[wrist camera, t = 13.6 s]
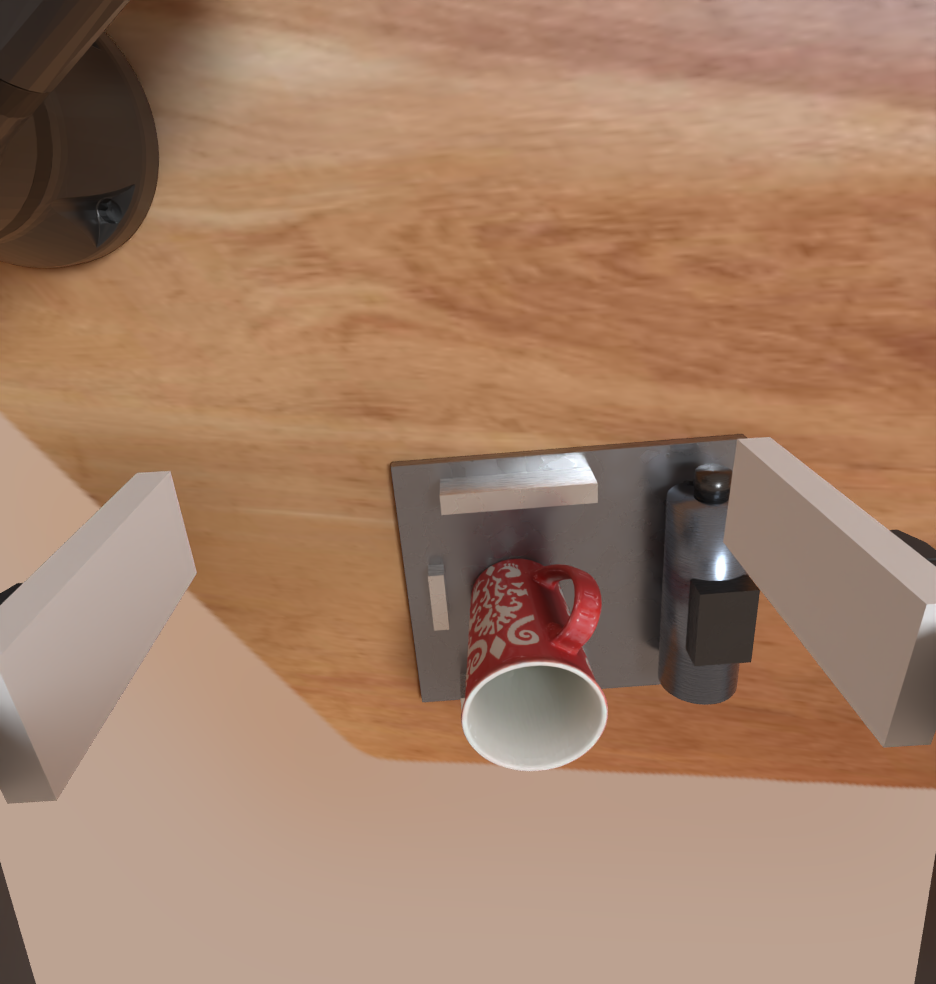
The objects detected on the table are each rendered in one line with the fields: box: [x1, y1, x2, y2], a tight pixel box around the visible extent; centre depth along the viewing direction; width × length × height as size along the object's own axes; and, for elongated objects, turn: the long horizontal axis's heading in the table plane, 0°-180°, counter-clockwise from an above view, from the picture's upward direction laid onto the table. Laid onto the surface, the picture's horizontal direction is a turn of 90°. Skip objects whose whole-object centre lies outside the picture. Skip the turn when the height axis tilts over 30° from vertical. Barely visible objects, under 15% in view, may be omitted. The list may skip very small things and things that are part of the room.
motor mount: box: [391, 434, 760, 708], centre depth 50 cm, size 26×22×8 cm
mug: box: [461, 559, 608, 771], centre depth 46 cm, size 13×9×14 cm
